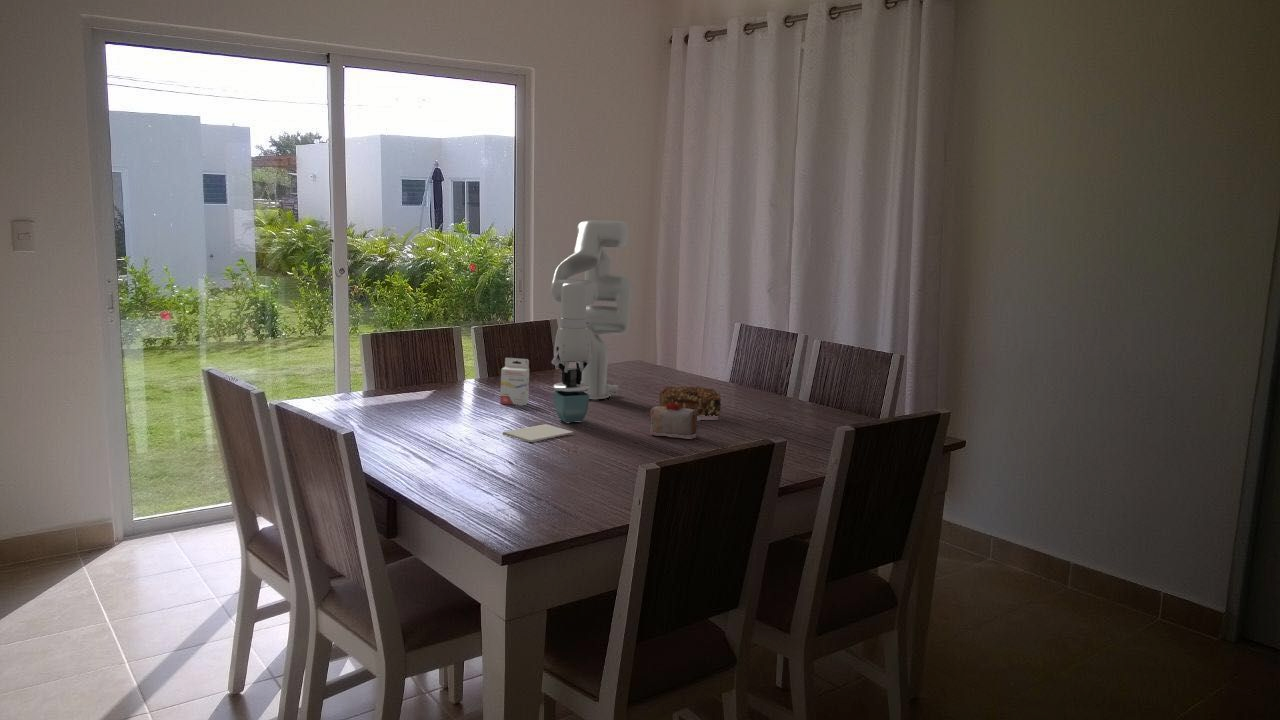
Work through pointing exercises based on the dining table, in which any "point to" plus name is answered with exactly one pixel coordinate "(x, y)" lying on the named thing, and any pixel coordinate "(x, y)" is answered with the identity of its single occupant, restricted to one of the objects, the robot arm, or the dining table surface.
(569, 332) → the robot arm
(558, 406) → the flower pot
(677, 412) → the food item
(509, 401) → the ink cartridge box
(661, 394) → the bread
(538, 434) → the linen napkin
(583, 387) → the lid
